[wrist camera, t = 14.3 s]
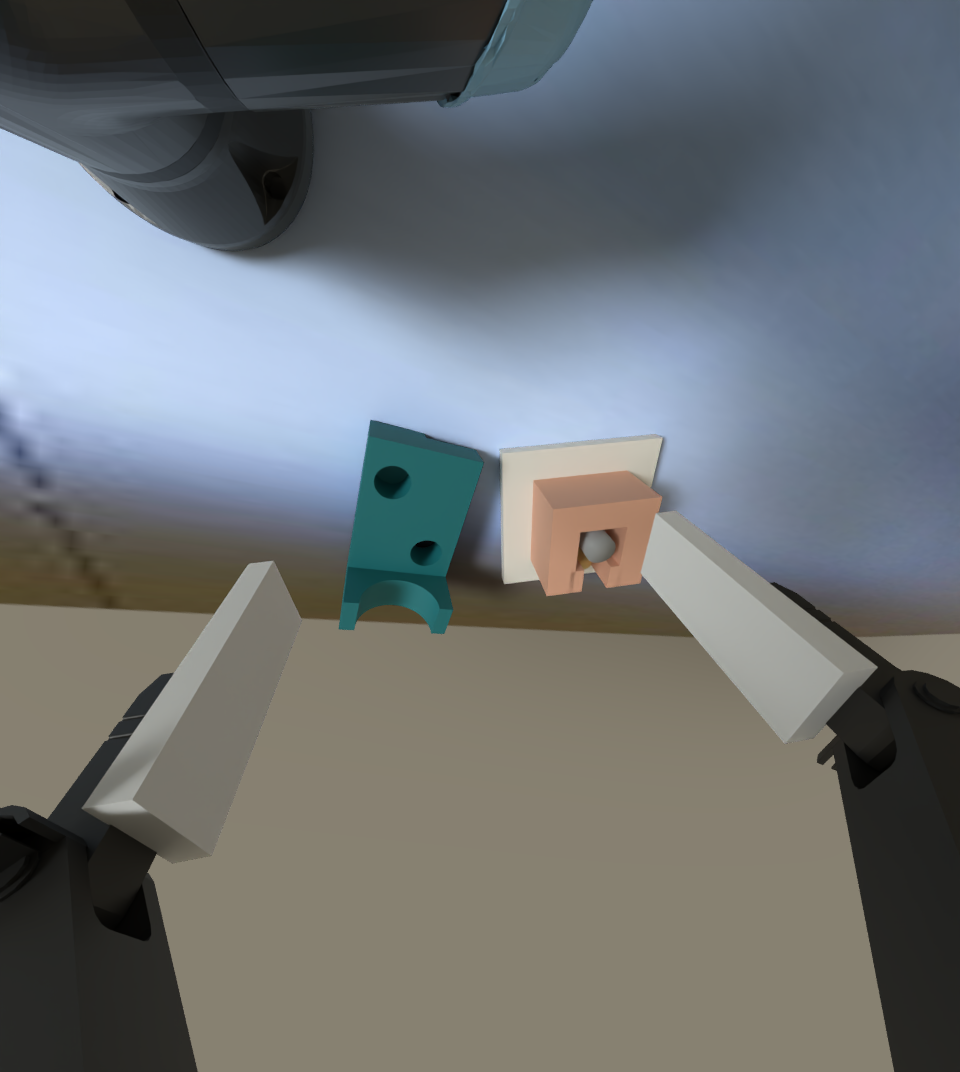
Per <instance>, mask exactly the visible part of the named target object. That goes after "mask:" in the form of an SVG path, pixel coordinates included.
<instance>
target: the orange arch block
mask: <svg viewBox="0 0 960 1072" xmlns="http://www.w3.org/2000/svg"><path fill="white" fill-rule="evenodd" d="M661 501H662V496H660V495H659V494H658V493H656V492H655V491H654V490H652V489H651V488H650V487H648V486H647V485H646V484H644V483H643V482H642V481H640V480H639V479H638V478H637V477H635V476H634V475H633V474H631V473H630V472H629V471H627V470H626V471H616V472H607V473H597V474H588V475H578V476H569V477H559V478H550V479H540V480H533V505H532V532H531V562H532V564H533V566H534V568H535V571H536V573H537V575H538V577H539V579H540V582H541V584H542V586H543V588H544V591H545V593H546V595H547V596H551V595H559V594H566V593H573V592H580V591H581V590H582V583H583V576H584V569H583V568H582V566H581V564H580V563H579V561H578V560H577V556H578V548H579V540H580V533H581V532H589V531H597V530H605V532H606V533H607V534H608V535H609V536H610V537H611V539H612V540H613V541H614V542H615V546H616V547H615V551H614V553H613V555H612V556H611V557H610V558H609V559H607V560H606V561H603V562H600V563H593V562H592V564H591V566H592V567H593V569H594V570H595V571H596V573H597V574H598V576H599V577H600V579H601V580H602V582H603V583H604V585H605V586H606V588H609V587H617V586H624V585H631V584H638V583H640V581H641V577H642V574H641V569H642V565H643V561H644V558H645V554H646V550H647V546H648V542H649V538H650V534H651V530H652V526H653V522H654V518H655V514H656V513H658V512H659V508H660V505H661Z"/></svg>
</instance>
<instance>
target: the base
mask: <svg viewBox="0 0 960 1072" xmlns="http://www.w3.org/2000/svg"><path fill="white" fill-rule="evenodd" d="M662 439H663V438H662V437H660V436H658V435H656V434H650V435H640V436H630V437H619V438H609V439H598V440H588V441H577V442H567V443H557V444H546V445H536V446H525V447H515V448H504V449H500V499H501V553H502V579H503V582H504V584H510V583H517V582H525V581H532V580H540V579H539V577H538V575H537V573H536V571H535V568H534V566H533V564H532V562H531V532H532V505H533V480H540V479H550V478H559V477H569V476H578V475H588V474H597V473H607V472H616V471H626V470H627V471H629V472H630V473H631V474H633V475H634V476H635V477H637V478H638V479H639V480H640V481H642V482H643V483H644V484H646V485H647V486H648V487H650V488H651V486H652V481H653V477H654V473H655V469H656V465H657V460H658V456H659V452H660V448H661V443H662ZM615 547H616V546H615V542H614V541H613V540H612V539H611V537H610V536H609V535H608V534H607V533H606V532H605V530H597V531H589V532H581V533H580V540H579V548H578V556H577V560H578V561H579V563H580V564H581V566H582V568H583V569H584V574H585V573H592V572H596V571H595V570H594V569H593V567H592V566H591V564H592V562H593V563H600V562H603V561H606V560H607V559H609V558H610V557H611V556H612V555H613V553H614V551H615Z"/></svg>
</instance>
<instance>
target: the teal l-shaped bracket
mask: <svg viewBox="0 0 960 1072" xmlns="http://www.w3.org/2000/svg"><path fill="white" fill-rule="evenodd" d="M483 464H484V462H483V461H482V459H481V457H480V456H479V454H478V453H477V451H476V450H473V449H469V448H465V447H461V446H457V445H453V444H449V443H445V442H441V441H437V440H433V439H429V438H426V437H425V434H423V433H420V432H416V431H412V430H409V429H405V428H401V427H397V426H393V425H389V424H385V423H381V422H377V421H373V420H370V426H369V432H368V439H367V445H366V451H365V457H364V463H363V470H362V476H361V482H360V488H359V494H358V501H357V507H356V513H355V519H354V525H353V532H352V538H351V544H350V550H349V556H348V563H347V570H346V577H345V585H344V593H343V600H342V608H341V615H340V623H339V629H342V630H354V628H355V624H356V622H357V620H358V618H359V617H360V616H361V615H362V614H363V613H364V612H366V611H367V610H369V609H371V608H374V607H377V606H381V605H399V606H403V607H406V608H409V609H411V610H413V611H415V612H417V613H418V614H419V615H421V616H422V617H423V618H424V619H425V620H426V622H427V623H428V625H429V627H430V630H431V633H437V634H444V633H445V630H446V628H447V625H448V622H449V620H450V617H451V614H452V612H453V607H452V603H451V599H450V594H449V590H448V586H447V581H446V574H447V571H448V568H449V565H450V562H451V559H452V556H453V553H454V550H455V547H456V544H457V541H458V538H459V535H460V532H461V529H462V526H463V523H464V520H465V518H466V515H467V512H468V509H469V506H470V503H471V500H472V497H473V494H474V491H475V488H476V485H477V482H478V479H479V476H480V473H481V470H482V467H483ZM426 540H429V541H434V543H433V544H432V545H431V546H428V547H425V548H420V547H416V546H414V545H415V544H417V543H419V542H421V541H426Z"/></svg>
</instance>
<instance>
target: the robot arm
mask: <svg viewBox="0 0 960 1072" xmlns="http://www.w3.org/2000/svg"><path fill="white" fill-rule="evenodd" d="M592 1H593V0H0V128H1V129H3V130H6V131H8V132H10V133H13V134H15V135H17V136H19V137H22V138H24V139H26V140H29V141H31V142H33V143H35V144H38V145H40V146H42V147H45V148H47V149H49V150H51V151H54V152H56V153H58V154H61V155H63V156H65V157H67V158H70V159H72V160H75V161H77V162H78V163H79V164H80V165H81V166H82V167H83V168H84V169H85V170H86V171H87V172H88V173H89V174H90V175H91V176H92V177H93V179H95V180H96V181H97V182H98V183H99V184H100V185H101V186H102V187H103V188H104V189H105V190H106V191H107V192H108V193H109V194H111V195H112V196H113V197H114V198H115V199H116V200H118V201H119V202H120V203H121V204H123V205H124V206H125V207H126V208H128V209H129V210H130V211H132V212H133V213H135V214H136V215H138V216H139V217H141V218H142V219H144V220H145V221H147V222H149V223H150V224H152V225H154V226H155V227H157V228H159V229H161V230H163V231H165V232H167V233H169V234H171V235H173V236H176V237H178V238H181V239H184V240H187V241H190V242H193V243H196V244H199V245H202V246H205V247H209V248H214V249H219V250H229V251H238V250H247V249H252V248H256V247H259V246H261V245H264V244H266V243H268V242H270V241H272V240H273V239H275V238H276V237H278V236H279V235H280V234H281V233H282V232H284V231H285V230H286V229H287V227H288V226H289V225H290V224H291V223H292V221H293V220H294V219H295V217H296V216H297V214H298V212H299V210H300V208H301V206H302V204H303V202H304V199H305V197H306V194H307V191H308V187H309V183H310V178H311V172H312V164H313V128H312V119H311V112H310V109H312V108H328V107H344V106H361V105H377V104H393V103H409V102H426V101H437V102H438V104H439V105H440V106H441V107H447V108H452V107H457V106H460V105H461V104H463V103H464V102H466V101H467V100H468V99H469V98H471V97H479V96H486V95H494V94H501V93H509V92H516V91H520V90H524V89H526V88H528V87H530V86H532V85H534V84H536V83H537V82H538V81H540V80H541V78H542V77H543V76H544V75H545V73H546V72H547V71H548V70H549V69H550V68H551V67H552V65H553V64H554V63H556V62H557V61H558V60H559V59H560V58H561V57H562V55H563V54H564V53H565V51H566V50H567V48H568V47H569V45H570V44H571V42H572V40H573V38H574V37H575V35H576V33H577V31H578V29H579V28H580V26H581V24H582V22H583V20H584V18H585V16H586V14H587V12H588V10H589V8H590V6H591V3H592ZM641 574H642V575H643V577H644V578H645V579H646V580H647V581H648V582H649V584H650V585H651V586H652V587H653V588H654V590H655V591H656V592H657V593H658V594H659V595H660V597H661V598H662V599H663V600H664V601H665V603H666V604H667V605H668V606H669V607H670V608H671V610H672V611H673V612H674V613H675V614H676V616H677V617H678V618H679V619H680V620H681V621H682V623H683V624H684V625H685V626H686V627H687V629H688V630H689V631H690V632H691V633H692V634H693V636H694V637H695V638H696V639H697V640H698V642H699V643H700V644H701V645H702V646H703V647H704V649H705V650H706V651H707V652H708V653H709V654H710V656H711V657H712V658H713V659H714V660H715V662H716V663H717V664H718V665H719V666H720V668H721V669H722V670H723V671H724V672H725V673H726V675H727V676H728V677H729V678H730V679H731V681H732V682H733V683H734V684H735V685H736V686H737V688H738V689H739V690H740V691H741V692H742V694H743V695H744V696H745V697H746V698H747V699H748V701H749V702H750V703H751V704H752V705H753V707H754V708H755V709H756V710H757V711H758V712H759V714H760V715H761V716H762V717H763V718H764V720H765V721H766V722H767V723H768V724H769V725H770V727H771V728H772V729H773V730H774V731H775V733H776V734H777V735H778V736H779V737H780V738H781V740H782V741H783V742H784V743H785V744H787V743H792V742H797V741H803V740H807V739H813V738H814V737H815V736H816V735H817V734H818V733H819V732H820V731H821V730H822V728H823V727H824V726H825V725H826V724H827V725H828V726H829V727H830V728H831V729H832V730H833V731H834V732H835V733H836V734H837V736H836V737H835V738H834V739H833V740H832V741H831V742H830V743H829V744H828V745H827V746H826V747H825V748H824V749H823V750H822V751H821V752H820V753H819V754H818V758H817V763H819V764H822V765H823V764H824V763H825V762H826V761H827V760H828V759H829V758H830V757H831V756H832V755H834V758H835V764H834V765H833V766H832V769H834V770H836V771H837V773H838V779H839V784H840V789H841V794H842V800H843V805H844V810H845V816H846V820H847V825H848V831H849V836H850V842H851V847H852V852H853V858H854V863H855V868H856V873H857V879H858V884H859V889H860V894H861V900H862V905H863V910H864V915H865V921H866V925H867V931H868V936H869V942H870V947H871V952H872V957H873V963H874V968H875V973H876V978H877V984H878V988H879V994H880V999H881V1004H882V1009H883V1015H884V1020H885V1025H886V1031H887V1036H888V1041H889V1046H890V1051H891V1057H892V1062H893V1067H894V1072H960V688H959V687H957V686H955V685H954V684H952V683H950V682H948V681H946V680H944V679H941V678H939V677H936V676H933V675H930V674H928V673H923V672H918V671H914V670H908V671H901V670H900V669H898V668H896V667H895V666H894V665H892V664H891V663H889V662H888V661H887V660H886V659H884V658H883V657H882V656H880V655H879V654H877V653H876V652H875V651H873V650H872V649H871V648H870V647H868V646H867V645H865V644H864V643H863V642H861V641H860V640H859V639H857V638H856V637H855V636H853V635H852V634H851V633H849V632H848V631H847V630H845V629H844V628H843V627H841V626H840V625H839V624H837V623H836V622H835V621H834V622H832V621H831V620H830V619H831V618H829V617H828V616H827V615H825V614H824V613H823V612H821V611H820V610H816V609H815V607H814V606H813V605H812V604H810V603H809V602H808V601H806V600H805V599H804V598H802V597H801V596H800V595H798V594H797V593H795V592H793V591H791V590H789V589H787V588H785V587H783V586H781V585H779V584H777V583H775V582H774V583H769V582H767V581H766V580H765V579H763V578H762V577H761V576H760V575H758V574H757V573H756V572H754V571H753V570H752V569H751V568H749V567H748V566H747V565H745V564H744V563H743V562H741V561H740V560H739V559H738V558H736V557H735V556H734V555H732V554H731V553H730V552H729V551H727V550H726V549H725V548H723V547H722V546H721V545H720V544H718V543H717V542H716V541H714V540H713V539H712V538H710V537H709V536H708V535H707V534H705V533H704V532H703V531H701V530H700V529H699V528H698V527H696V526H695V525H694V524H692V523H691V522H690V521H689V520H687V519H686V518H685V517H683V516H682V515H681V514H679V513H678V512H677V511H669V512H661V513H656V514H655V518H654V522H653V526H652V530H651V534H650V538H649V542H648V546H647V550H646V554H645V558H644V561H643V565H642V569H641ZM301 622H302V620H301V617H300V615H299V613H298V611H297V609H296V607H295V605H294V603H293V601H292V599H291V596H290V594H289V592H288V590H287V588H286V586H285V584H284V582H283V580H282V577H281V575H280V573H279V571H278V569H277V567H276V565H275V563H274V561H268V562H260V563H252V564H248V566H247V567H246V569H245V570H244V572H243V573H242V575H241V576H240V577H239V579H238V580H237V582H236V583H235V585H234V586H233V588H232V589H231V591H230V592H229V594H228V595H227V597H226V598H225V599H224V601H223V602H222V604H221V605H220V607H219V608H218V610H217V611H216V613H215V614H214V616H213V617H212V618H211V620H210V621H209V623H208V624H207V626H206V627H205V629H204V630H203V632H202V633H201V635H200V636H199V638H198V639H197V641H196V642H195V643H194V645H193V646H192V648H191V649H190V651H189V652H188V654H187V655H186V657H185V658H184V659H183V661H182V662H181V664H180V665H179V667H178V668H177V670H176V671H175V673H170V674H163V675H161V676H160V677H159V678H157V679H156V680H155V681H154V682H153V683H152V684H151V685H150V686H148V687H147V688H146V689H145V690H144V691H143V692H142V693H141V694H139V696H138V697H137V698H136V700H135V701H134V702H133V704H132V705H131V706H130V708H129V709H128V711H127V712H126V713H125V715H124V716H123V720H122V721H121V722H119V723H118V724H117V725H116V727H115V728H114V729H113V731H112V732H111V734H110V735H109V740H108V741H105V742H104V743H103V744H102V746H101V747H100V748H99V750H98V751H97V753H96V754H95V755H94V757H93V758H92V759H91V761H90V762H89V764H88V765H87V766H86V767H85V769H84V770H83V772H82V773H81V774H80V776H79V777H78V779H77V780H76V781H75V783H74V784H73V785H72V787H71V788H70V789H69V791H68V792H67V793H66V795H65V796H64V798H63V799H62V800H61V802H60V803H59V804H58V805H57V807H56V808H55V810H54V811H53V812H52V814H51V815H50V816H49V818H48V819H46V818H44V817H41V816H40V815H38V814H36V813H34V812H33V811H31V810H29V809H27V808H25V807H20V806H13V805H11V806H7V807H4V808H0V1072H197V1067H196V1063H195V1058H194V1054H193V1050H192V1046H191V1041H190V1037H189V1032H188V1028H187V1024H186V1019H185V1015H184V1010H183V1006H182V1002H181V997H180V993H179V989H178V985H177V980H176V976H175V972H174V967H173V963H172V958H171V954H170V950H169V946H168V941H167V936H166V932H165V928H164V924H163V919H162V915H161V910H160V906H159V902H158V897H157V893H156V888H155V884H154V881H153V880H152V878H151V877H150V875H149V873H147V872H148V870H149V868H150V866H151V864H152V862H153V860H154V858H155V856H156V854H157V855H159V856H161V857H162V858H164V859H166V860H167V861H169V862H171V863H177V862H182V861H188V860H193V859H198V858H203V857H208V856H212V854H213V851H214V848H215V846H216V843H217V841H218V838H219V835H220V833H221V830H222V828H223V825H224V822H225V820H226V817H227V815H228V812H229V809H230V807H231V804H232V802H233V799H234V796H235V794H236V791H237V788H238V786H239V783H240V781H241V778H242V776H243V773H244V770H245V768H246V765H247V763H248V760H249V757H250V754H251V752H252V750H253V747H254V744H255V742H256V739H257V737H258V734H259V731H260V729H261V726H262V724H263V721H264V718H265V716H266V713H267V710H268V708H269V705H270V702H271V700H272V697H273V695H274V692H275V689H276V687H277V684H278V682H279V679H280V677H281V674H282V671H283V669H284V666H285V664H286V661H287V658H288V656H289V653H290V650H291V648H292V645H293V643H294V640H295V638H296V635H297V632H298V630H299V627H300V624H301Z"/></svg>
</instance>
